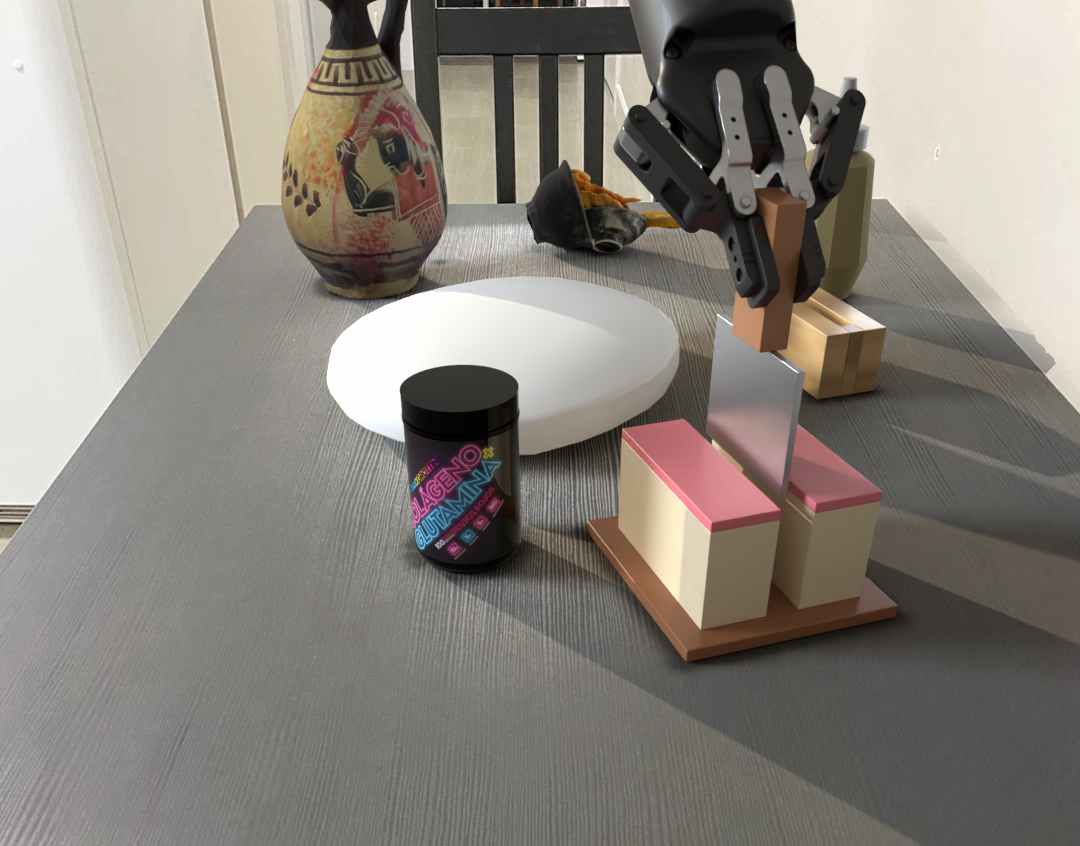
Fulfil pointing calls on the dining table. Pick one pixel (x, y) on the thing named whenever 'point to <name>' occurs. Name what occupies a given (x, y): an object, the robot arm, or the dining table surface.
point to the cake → (740, 542)
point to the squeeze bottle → (847, 216)
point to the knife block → (834, 346)
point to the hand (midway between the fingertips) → (786, 296)
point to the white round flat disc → (514, 354)
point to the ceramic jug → (363, 162)
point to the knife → (761, 360)
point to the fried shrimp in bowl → (587, 214)
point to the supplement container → (463, 465)
